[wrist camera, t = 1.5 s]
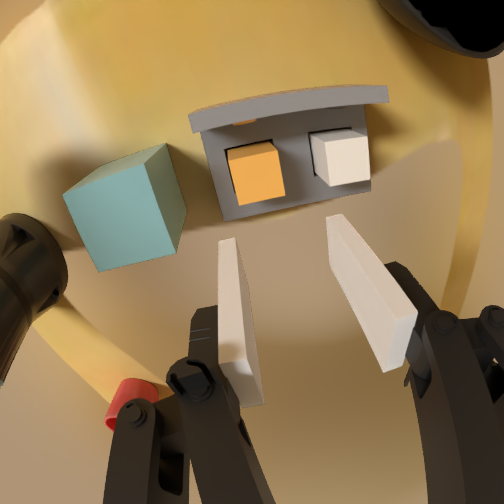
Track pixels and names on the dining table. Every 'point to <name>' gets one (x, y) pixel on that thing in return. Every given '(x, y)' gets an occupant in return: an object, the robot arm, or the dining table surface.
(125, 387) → the flower pot
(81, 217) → the cover
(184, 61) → the dining table surface
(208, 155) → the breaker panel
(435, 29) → the bowl of black rocks
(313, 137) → the plain button
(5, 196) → the dining table surface
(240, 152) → the tagged button
